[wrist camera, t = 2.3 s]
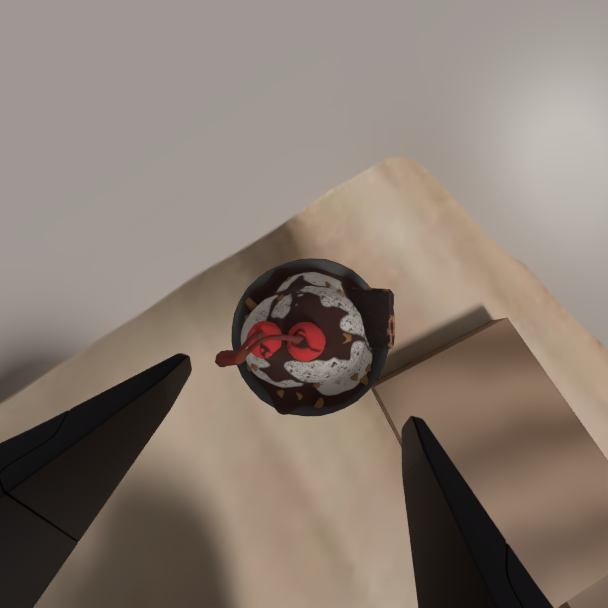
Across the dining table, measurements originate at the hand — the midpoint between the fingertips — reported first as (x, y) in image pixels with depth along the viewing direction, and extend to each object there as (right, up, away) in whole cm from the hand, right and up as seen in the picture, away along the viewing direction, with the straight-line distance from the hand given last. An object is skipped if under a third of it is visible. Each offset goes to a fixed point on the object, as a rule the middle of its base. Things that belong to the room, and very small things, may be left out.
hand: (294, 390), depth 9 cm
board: (+15, -9, +8) cm, 20 cm away
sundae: (+1, 0, +11) cm, 11 cm away
